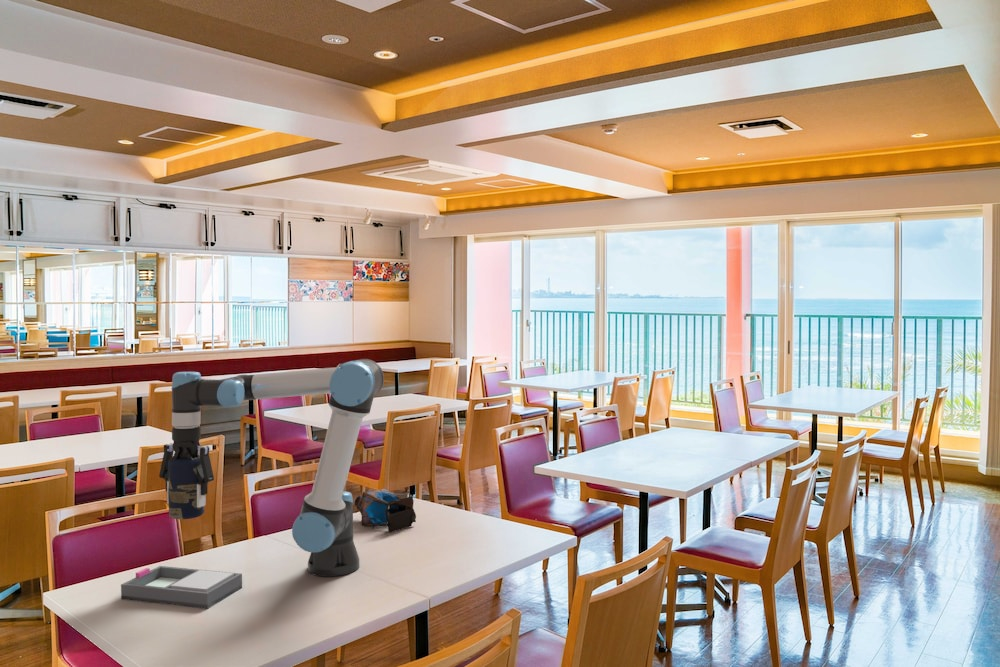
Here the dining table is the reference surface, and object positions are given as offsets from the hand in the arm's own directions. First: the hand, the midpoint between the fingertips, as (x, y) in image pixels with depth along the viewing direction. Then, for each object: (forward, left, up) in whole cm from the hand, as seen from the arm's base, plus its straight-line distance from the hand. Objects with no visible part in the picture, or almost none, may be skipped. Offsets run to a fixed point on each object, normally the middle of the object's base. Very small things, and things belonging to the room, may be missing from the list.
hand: (186, 504), depth 210 cm
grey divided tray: (-4, +8, -22) cm, 24 cm away
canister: (0, 0, -4) cm, 4 cm away
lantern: (-30, -66, -23) cm, 76 cm away
